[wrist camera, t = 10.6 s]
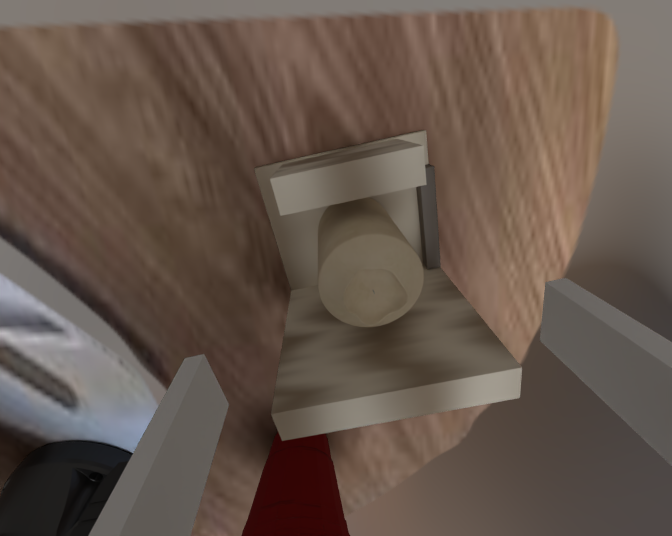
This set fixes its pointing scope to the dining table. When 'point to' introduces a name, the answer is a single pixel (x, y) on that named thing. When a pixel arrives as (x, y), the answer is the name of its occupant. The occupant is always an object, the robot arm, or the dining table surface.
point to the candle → (366, 265)
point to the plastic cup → (297, 492)
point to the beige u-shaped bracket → (381, 341)
